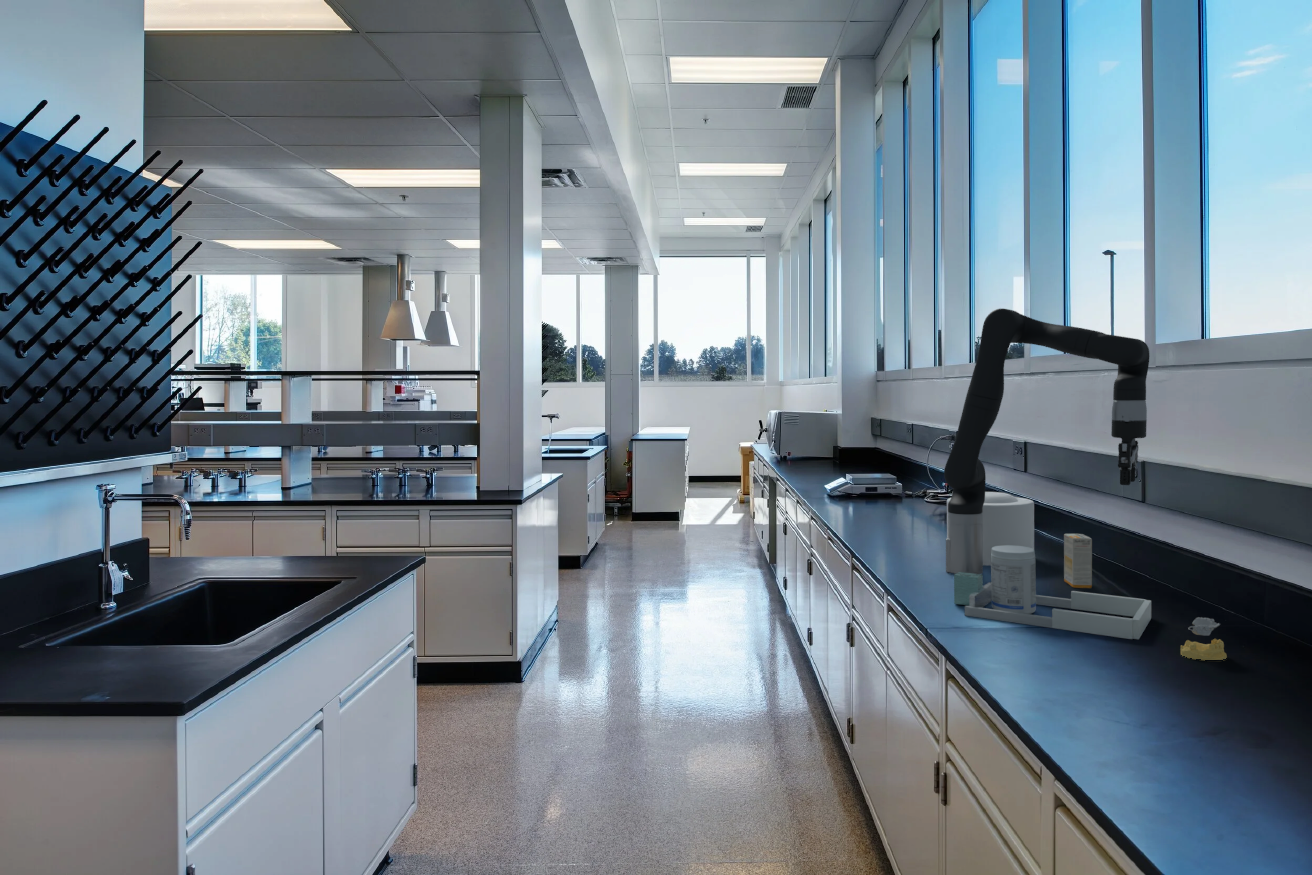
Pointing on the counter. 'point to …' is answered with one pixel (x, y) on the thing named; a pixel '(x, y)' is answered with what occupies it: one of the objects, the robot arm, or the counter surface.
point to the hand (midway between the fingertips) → (1127, 483)
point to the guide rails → (1021, 617)
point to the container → (1005, 522)
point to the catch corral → (1104, 623)
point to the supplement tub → (1013, 579)
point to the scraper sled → (971, 590)
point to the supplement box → (1078, 560)
